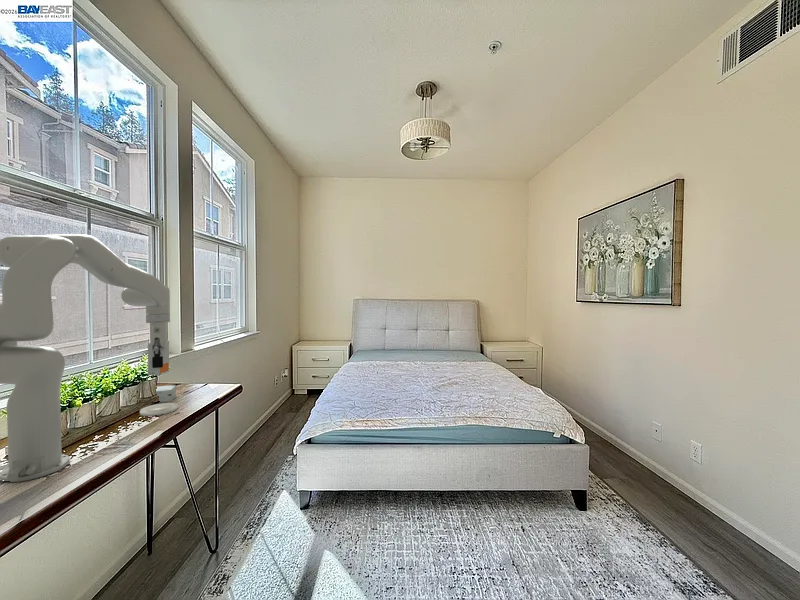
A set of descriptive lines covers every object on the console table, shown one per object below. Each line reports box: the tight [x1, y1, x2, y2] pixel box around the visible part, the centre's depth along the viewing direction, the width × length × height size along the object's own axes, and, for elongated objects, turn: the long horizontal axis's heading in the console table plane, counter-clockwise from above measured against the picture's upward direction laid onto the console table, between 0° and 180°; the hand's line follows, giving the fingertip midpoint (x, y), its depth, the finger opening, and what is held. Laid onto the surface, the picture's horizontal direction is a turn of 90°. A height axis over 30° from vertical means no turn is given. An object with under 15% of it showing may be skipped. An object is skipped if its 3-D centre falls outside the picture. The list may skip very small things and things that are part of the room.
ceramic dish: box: [139, 402, 179, 417], centre depth 136 cm, size 12×12×1 cm
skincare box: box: [147, 341, 170, 376], centre depth 135 cm, size 6×4×12 cm
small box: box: [156, 384, 177, 403], centre depth 149 cm, size 8×8×5 cm
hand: (158, 365), depth 135 cm, fingers closed on skincare box, 7 cm apart
